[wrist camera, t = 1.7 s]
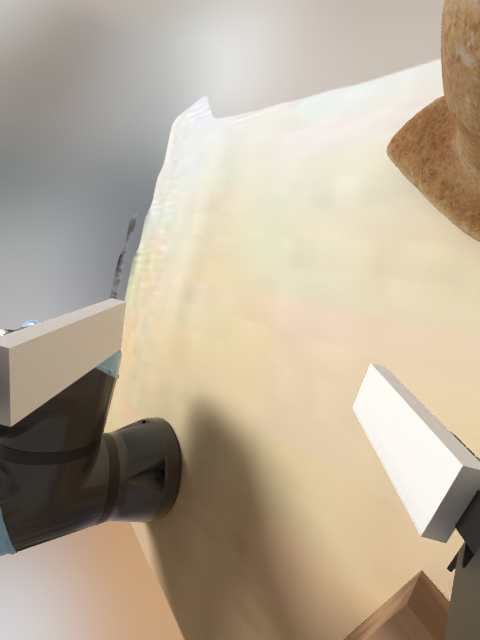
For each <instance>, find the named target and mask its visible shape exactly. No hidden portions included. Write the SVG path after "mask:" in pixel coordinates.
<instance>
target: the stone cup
mask: <svg viewBox="0 0 480 640" xmlns="http://www.w3.org/2000/svg"><path fill="white" fill-rule="evenodd" d="M441 62H442V79H443V88H444V95H445V96H443V97H440V98H438V99H436V100H435V101H434V102H432V103H431V104H429V105H428V106H426V107H425V108H423V109H422V110H421V111H420V112H418V113H417V114H416V115H415V116H414V117H413V118H412V119H410V120H409V121H408V122H407V123H406V124H405V125H404V126H403V127H402V128H401V129H400V130H399V131H398V132H397V133H396V134H395V136H394V137H393V138H392V139H391V141H390V143H389V145H388V147H387V155H388V156H389V158H390V159H391V160H392V162H393V163H394V164H395V165H396V166H397V167H398V168H399V170H400V171H401V172H402V174H403V175H404V176H405V177H406V178H407V179H408V180H409V181H410V182H411V183H412V184H413V185H414V186H415V187H416V188H418V189H419V191H420V192H421V193H422V194H423V195H424V196H425V197H426V198H427V199H428V200H429V201H430V202H431V203H432V204H433V205H434V206H435V207H436V208H437V209H438V210H439V211H440V212H441V213H442V214H443V215H445V216H446V217H447V218H448V219H449V220H450V221H451V222H453V223H454V224H455V225H456V226H457V227H458V228H460V229H461V230H462V231H463V232H465V233H466V234H467V235H469V236H470V237H472V238H474V239H476V240H477V241H479V242H480V0H445V3H444V8H443V15H442V31H441Z"/></svg>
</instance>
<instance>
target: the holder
mask: <svg viewBox="0 0 480 640" xmlns="http://www.w3.org/2000/svg"><path fill="white" fill-rule="evenodd" d="M449 607H450V603H449V602H448V600H447V599H446V598H445V597H444V596H443V595H442V594H441V592H440V591H439V590H438V589H437V588H436V587H435V585H434V584H433V583H432V582H431V581H430V580H429V578H428V577H427V576H426V575H425V574H424V573H423V571H422V570H421V571H420V572H419V573H418V574H417V575H416V576H415V577H414V578H412V579H411V580H410V581H409V582H408V583H407V584H406V585H405V586H403V587H402V588H401V589H400V590H399V591H398V592H397V593H396V594H395V595H393V596H392V597H391V598H390V599H389V600H388V601H387V602H386V603H384V604H383V605H382V606H381V607H380V608H379V609H378V610H377V611H375V612H374V613H373V614H372V615H371V616H370V617H369V618H368V619H367V620H365V621H364V622H363V623H362V624H361V625H360V626H359V627H358V628H356V629H355V630H354V631H353V632H352V633H351V634H350V635H349V636H347V637H346V638H345V639H344V640H444V638H445V632H446V625H447V619H448V613H449Z"/></svg>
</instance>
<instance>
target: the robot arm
mask: <svg viewBox="0 0 480 640" xmlns="http://www.w3.org/2000/svg"><path fill="white" fill-rule="evenodd" d="M125 306H126V302H125V301H121V300H117V299H113V298H112V299H109V300H106V301H103V302H100V303H97V304H94V305H91V306H88V307H85V308H83V309H79V310H76V311H73V312H70V313H67V314H64V315H62V316H59V317H56V318H53V319H50V320H47V321H44V322H43V321H37V320H33V319H29V320H26V321H25V323H24V324H23V325H21V329H18V330H7V329H0V556H1V555H5V554H15V553H17V552H18V551H21V550H24V549H26V548H30V547H33V546H35V545H39V544H41V543H44V542H47V541H50V540H53V539H56V538H59V537H62V536H65V535H68V534H71V533H74V532H77V531H80V530H83V529H85V528H88V527H91V526H94V525H97V524H100V523H103V522H107V521H126V522H150V521H152V520H155V519H158V518H161V517H163V516H164V515H166V514H167V513H168V512H169V510H170V509H171V507H172V506H173V504H174V501H175V499H176V496H177V493H178V488H179V483H180V472H181V463H180V453H179V447H178V443H177V439H176V436H175V434H174V432H173V430H172V428H171V426H170V425H169V424H168V423H167V422H166V421H165V420H164V419H162V418H145V419H142V420H139V421H137V422H135V423H132V424H130V425H127V426H125V427H123V428H120V429H118V430H116V431H113V432H110V433H103V432H104V428H105V424H106V420H107V416H108V412H109V408H110V404H111V400H112V396H113V392H114V388H115V384H116V380H117V379H118V378H119V374H118V371H119V366H120V361H121V356H122V353H121V350H120V349H121V343H122V334H123V324H124V315H125ZM352 409H353V410H354V412H355V414H356V416H357V418H358V420H359V422H360V424H361V425H362V427H363V429H364V431H365V433H366V435H367V437H368V438H369V440H370V442H371V444H372V446H373V448H374V450H375V451H376V453H377V455H378V457H379V459H380V461H381V463H382V465H383V466H384V468H385V470H386V472H387V474H388V476H389V478H390V479H391V481H392V483H393V485H394V487H395V489H396V491H397V493H398V494H399V496H400V498H401V500H402V502H403V504H404V506H405V507H406V509H407V511H408V513H409V515H410V517H411V519H412V520H413V522H414V524H415V526H416V528H417V530H418V532H419V534H420V535H421V537H425V538H429V539H433V540H436V541H440V542H444V543H446V542H447V541H448V539H449V538H450V536H451V534H452V533H453V531H454V530H455V528H456V529H457V530H458V532H459V533H460V535H461V536H462V538H463V539H464V541H465V542H464V543H463V545H462V546H461V548H460V550H459V551H458V553H457V554H456V556H455V557H454V559H453V560H452V562H451V563H450V565H449V566H448V568H447V569H448V570H449V571H450V572H452V571H453V570H454V569H456V570H455V576H454V582H453V588H452V594H451V601H450V607H449V613H448V619H447V625H446V632H445V638H444V640H480V459H479V458H478V457H475V454H474V453H473V452H472V451H471V450H470V449H469V448H466V446H465V445H464V444H463V443H462V442H461V441H460V440H459V439H458V438H457V437H456V436H455V435H454V434H453V433H451V432H450V431H449V430H448V429H447V428H446V427H445V426H444V425H443V424H442V423H441V422H440V421H439V420H438V419H437V418H436V417H435V416H434V415H433V414H432V413H431V412H430V411H429V410H428V409H427V408H426V407H425V406H424V405H423V404H422V403H421V402H420V401H419V400H418V399H417V398H416V397H415V396H414V395H413V394H412V393H411V392H410V391H409V390H408V389H407V388H406V387H405V386H404V385H403V384H402V383H401V382H400V381H399V380H398V379H397V378H396V377H395V376H394V375H393V374H392V373H391V372H390V371H389V370H388V369H387V368H386V367H384V366H380V365H376V364H372V363H371V364H370V366H369V369H368V371H367V373H366V376H365V378H364V381H363V383H362V386H361V388H360V391H359V393H358V395H357V398H356V400H355V403H354V405H353V408H352Z"/></svg>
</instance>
